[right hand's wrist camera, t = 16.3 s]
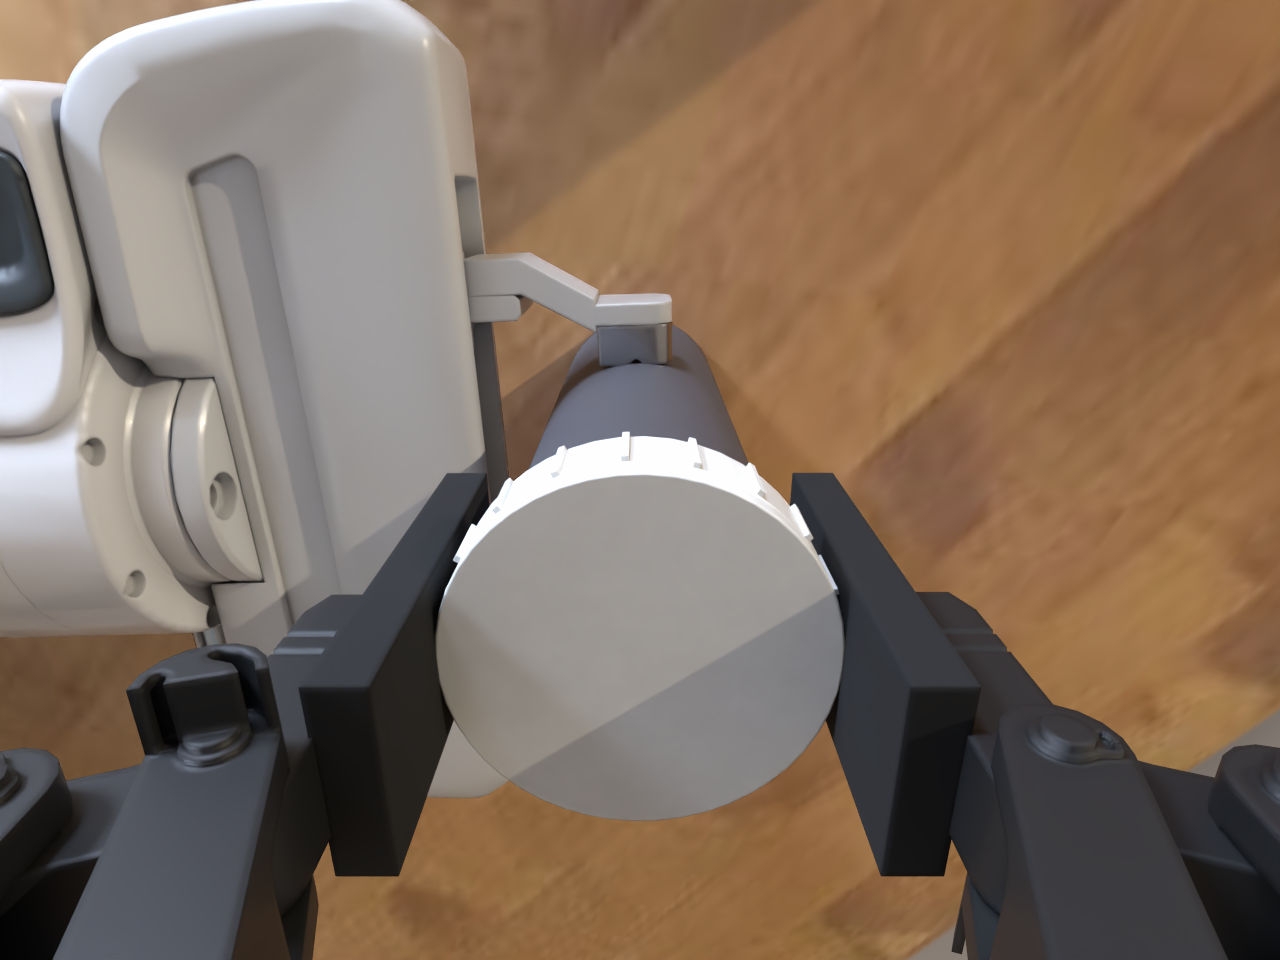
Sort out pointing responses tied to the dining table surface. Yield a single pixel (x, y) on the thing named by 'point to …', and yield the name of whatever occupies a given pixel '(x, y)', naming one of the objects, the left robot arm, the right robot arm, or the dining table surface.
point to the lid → (639, 631)
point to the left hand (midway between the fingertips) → (674, 447)
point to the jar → (641, 402)
